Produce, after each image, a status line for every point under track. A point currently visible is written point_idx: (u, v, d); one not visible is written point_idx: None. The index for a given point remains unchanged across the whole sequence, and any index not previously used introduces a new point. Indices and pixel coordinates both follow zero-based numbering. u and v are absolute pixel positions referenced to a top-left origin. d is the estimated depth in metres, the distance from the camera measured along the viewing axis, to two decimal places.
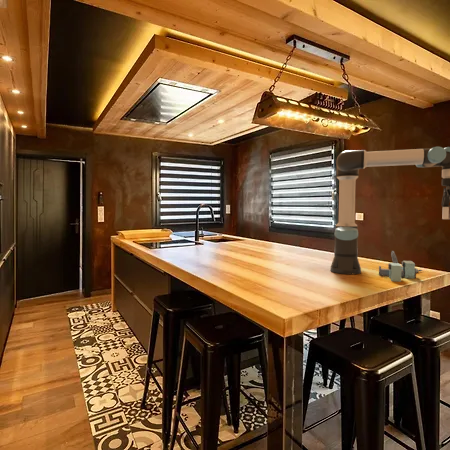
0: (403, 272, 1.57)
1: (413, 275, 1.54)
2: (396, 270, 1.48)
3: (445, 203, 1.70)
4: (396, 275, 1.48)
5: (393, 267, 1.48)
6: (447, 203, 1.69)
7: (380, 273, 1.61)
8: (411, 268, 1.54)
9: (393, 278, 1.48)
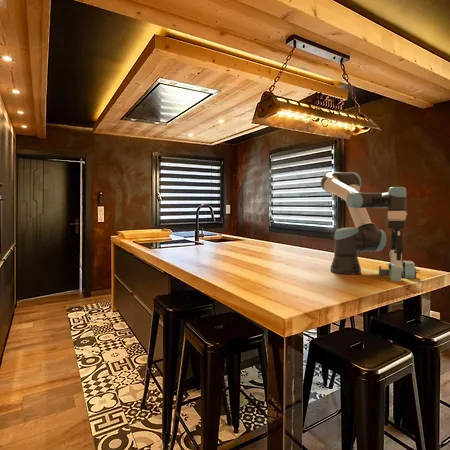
0: (403, 272, 1.57)
1: (413, 275, 1.54)
2: (396, 270, 1.48)
3: (393, 246, 1.56)
4: (396, 275, 1.48)
5: (393, 267, 1.48)
6: (395, 246, 1.56)
7: (380, 273, 1.61)
8: (411, 268, 1.54)
9: (393, 278, 1.48)
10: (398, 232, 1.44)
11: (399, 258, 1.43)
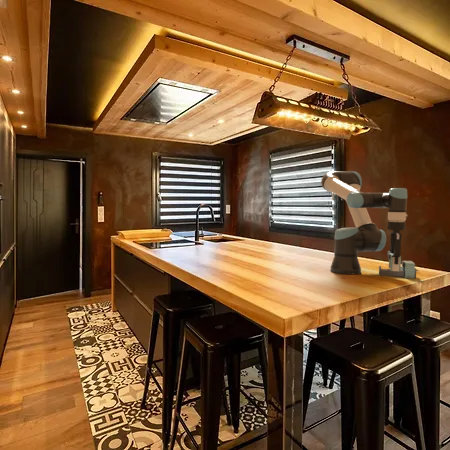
0: (403, 272, 1.57)
1: (413, 275, 1.54)
2: None
3: (393, 249, 1.55)
4: None
5: None
6: None
7: (380, 273, 1.61)
8: (411, 268, 1.54)
9: None
10: (398, 237, 1.45)
11: (396, 262, 1.46)
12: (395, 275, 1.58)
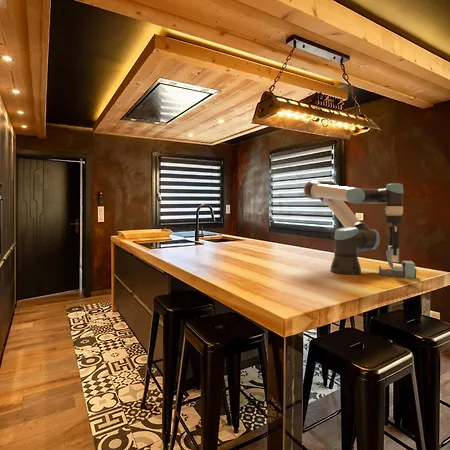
0: (403, 272, 1.57)
1: (413, 275, 1.54)
2: None
3: None
4: None
5: None
6: None
7: (380, 273, 1.61)
8: (411, 268, 1.54)
9: None
10: None
11: None
12: (395, 275, 1.58)
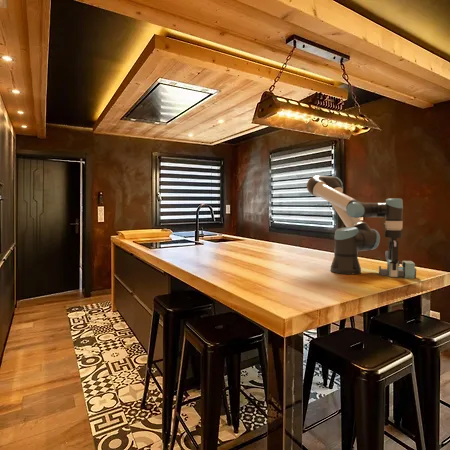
0: (403, 272, 1.57)
1: (413, 275, 1.54)
2: None
3: None
4: None
5: None
6: None
7: (380, 273, 1.61)
8: (411, 268, 1.54)
9: None
10: None
11: None
12: None
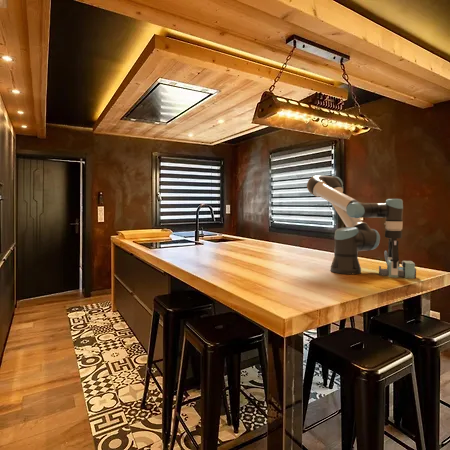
0: (403, 272, 1.57)
1: (413, 275, 1.54)
2: None
3: None
4: None
5: None
6: None
7: (380, 273, 1.61)
8: (411, 268, 1.54)
9: None
10: None
11: None
12: None
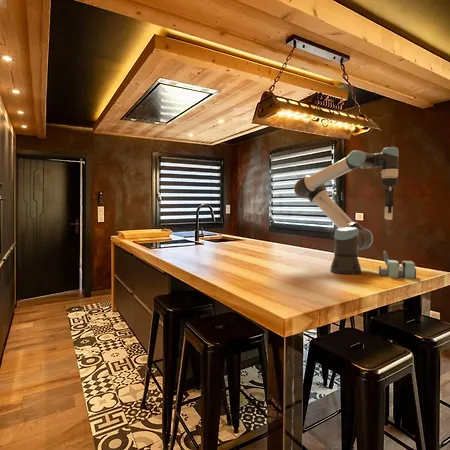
0: (403, 272, 1.57)
1: (413, 275, 1.54)
2: None
3: None
4: None
5: None
6: None
7: (380, 273, 1.61)
8: (411, 268, 1.54)
9: None
10: None
11: None
12: None
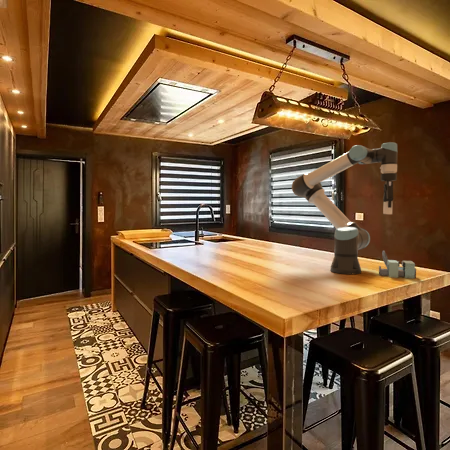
0: (403, 272, 1.57)
1: (413, 275, 1.54)
2: None
3: None
4: None
5: None
6: None
7: (380, 273, 1.61)
8: (411, 268, 1.54)
9: None
10: None
11: None
12: None
